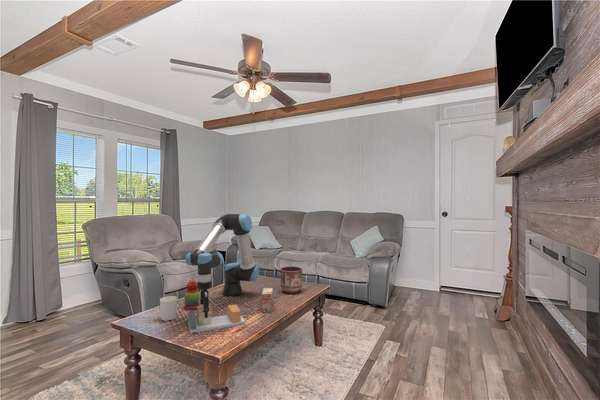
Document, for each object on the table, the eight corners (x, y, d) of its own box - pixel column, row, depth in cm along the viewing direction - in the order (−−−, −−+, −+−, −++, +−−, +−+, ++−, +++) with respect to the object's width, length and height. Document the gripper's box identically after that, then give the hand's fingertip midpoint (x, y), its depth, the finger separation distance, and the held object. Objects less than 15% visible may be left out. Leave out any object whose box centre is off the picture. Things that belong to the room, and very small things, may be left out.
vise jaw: (227, 315, 183) (227, 305, 183) (235, 314, 185) (235, 304, 185) (232, 322, 172) (232, 312, 172) (240, 321, 174) (240, 310, 174)
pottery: (275, 292, 234) (275, 269, 234) (287, 287, 249) (288, 265, 249) (294, 296, 225) (294, 272, 225) (306, 290, 240) (306, 268, 240)
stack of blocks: (264, 301, 214) (264, 284, 214) (272, 301, 214) (273, 284, 214) (261, 312, 192) (261, 293, 192) (271, 312, 193) (271, 293, 193)
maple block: (197, 322, 172) (197, 306, 172) (209, 320, 175) (210, 305, 175) (198, 325, 168) (198, 309, 168) (211, 323, 171) (211, 307, 171)
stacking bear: (202, 308, 199) (202, 281, 199) (185, 311, 194) (186, 283, 194) (198, 303, 208) (198, 277, 208) (182, 306, 203) (183, 279, 203)
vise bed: (188, 323, 174) (188, 310, 175) (239, 315, 187) (239, 303, 187) (190, 333, 162) (190, 319, 162) (245, 323, 175) (245, 310, 175)
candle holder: (163, 315, 186) (163, 296, 186) (179, 315, 187) (179, 295, 187) (156, 322, 177) (157, 301, 177) (174, 321, 177) (174, 301, 178)
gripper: (195, 276, 181) (194, 313, 181) (200, 287, 159) (200, 328, 159) (208, 275, 184) (207, 311, 184) (214, 285, 162) (214, 326, 162)
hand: (204, 319), depth 172 cm, fingers open, 11 cm apart
